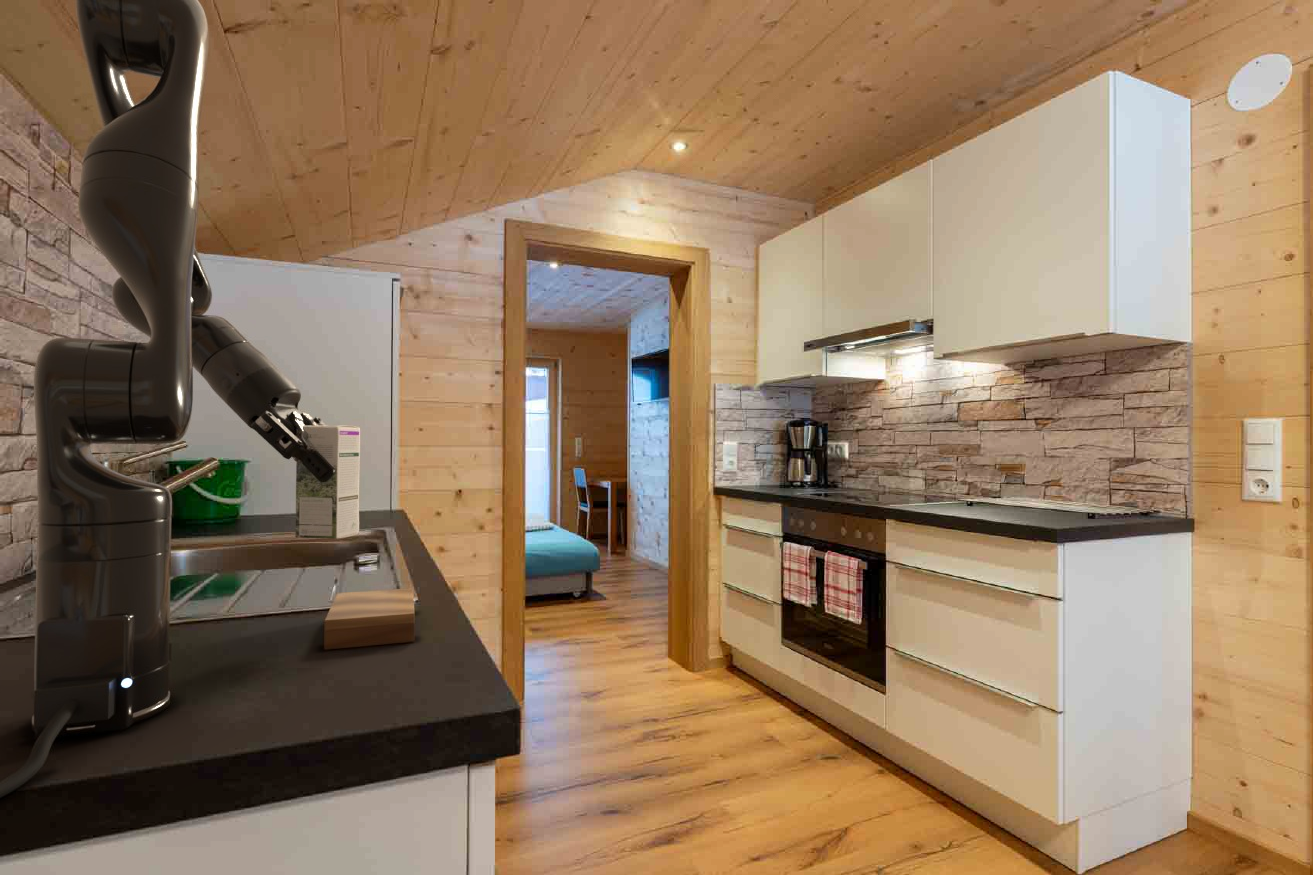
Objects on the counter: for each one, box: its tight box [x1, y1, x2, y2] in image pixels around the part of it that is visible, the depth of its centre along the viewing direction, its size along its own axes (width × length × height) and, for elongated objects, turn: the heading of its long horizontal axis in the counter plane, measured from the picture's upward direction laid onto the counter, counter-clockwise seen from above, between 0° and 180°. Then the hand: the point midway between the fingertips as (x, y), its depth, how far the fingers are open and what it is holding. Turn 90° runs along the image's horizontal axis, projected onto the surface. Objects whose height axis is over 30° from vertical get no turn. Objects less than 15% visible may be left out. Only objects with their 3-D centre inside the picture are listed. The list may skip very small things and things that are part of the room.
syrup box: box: [294, 424, 361, 540], centre depth 88 cm, size 6×6×14 cm
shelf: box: [323, 587, 416, 651], centre depth 88 cm, size 16×10×4 cm, turn 21°
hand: (341, 476), depth 88 cm, fingers closed on syrup box, 6 cm apart
